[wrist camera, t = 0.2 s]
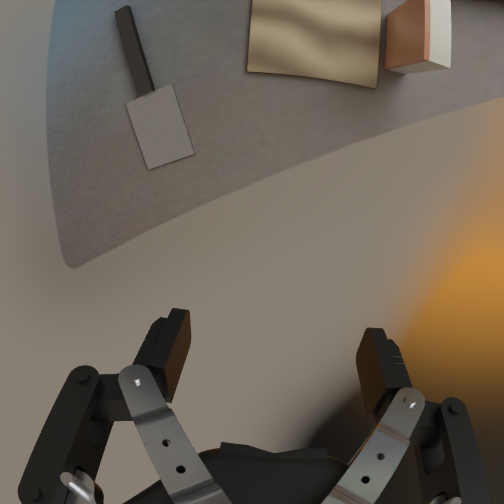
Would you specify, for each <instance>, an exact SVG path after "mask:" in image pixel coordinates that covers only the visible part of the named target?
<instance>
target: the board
mask: <svg viewBox="0 0 504 504" xmlns="http://www.w3.org/2000/svg"><path fill="white" fill-rule="evenodd" d="M380 24H381V0H253V3H252V14H251V27H250V39H249V52H248V65H247V72H262V73H275V74H286V75H296V76H304V77H312V78H319V79H326V80H332V81H339V82H344V83H350V84H355V85H360V86H365V87H370V88H374V89H376V86H377V74H378V61H379V46H380Z"/></svg>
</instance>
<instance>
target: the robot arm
mask: <svg viewBox="0 0 504 504" xmlns="http://www.w3.org/2000/svg"><path fill="white" fill-rule="evenodd" d="M190 343H191V325H190V312H189V310H183V309H177V308H172V310H171V312H170V314H169V316H168V318H162V317H160V318H159V319H158V320H156V321H155V322H154V323H153V324H152V325H151V327H150V330H149V332H148V334H147V335H146V337H145V340H144V342H143V344H142V346H141V348H140V350H139V352H138V354H137V356H136V358H135V360H134V362H133V364H132V365H130V366H127V367H125V368H124V369H123V370H122V371H121V372H120V373H118V374H101V375H99V373H98V371H97V370H96V369H95V368H93V367H91V366H87V365H85V366H79V367H76V368H75V369H73V370H72V371H71V372H70V374H69V376H68V378H67V380H66V382H65V383H64V385H63V388H62V390H61V391H60V394H59V395H58V397H57V399H56V401H55V403H54V405H53V407H52V410H51V412H50V414H49V416H48V418H47V420H46V422H45V424H44V426H43V429H42V431H41V433H40V436H39V438H38V440H37V442H36V444H35V447H34V449H33V451H32V454H31V456H30V459H29V461H28V463H27V466H26V468H25V471H24V473H23V476H22V479H21V481H20V484H19V487H18V496H19V499H20V501H21V503H22V504H104V494H103V491H102V489H101V488H100V487H99V485H98V484H97V483H96V482H95V478H96V475H97V472H98V469H99V465H100V462H101V459H102V456H103V453H104V450H105V447H106V444H107V441H108V438H109V434H110V432H111V429H112V426H113V423H114V421H134V423H135V426H136V428H137V431H138V433H139V435H140V437H141V440H142V442H143V444H144V446H145V448H146V450H147V453H148V455H149V457H150V459H151V461H152V463H153V465H154V467H155V469H156V471H157V473H158V475H159V477H160V480H158V481H157V482H155V483H154V484H153V485H151V486H150V487H148V488H147V489H145V490H143V491H142V492H140V493H139V494H137V495H136V496H134V497H133V498H131V499H130V500H128V501H126V502H125V503H123V504H387V503H386V502H385V501H384V500H383V499H382V498H381V497H380V496H379V495H380V494H381V492H382V490H383V489H384V487H385V486H386V484H387V483H388V481H389V479H390V478H391V476H392V474H393V473H394V471H395V469H396V467H397V466H398V464H399V462H400V460H401V459H402V457H403V455H404V453H405V451H406V449H407V447H408V445H409V444H411V445H414V450H415V456H416V463H417V469H418V477H419V485H420V494H421V503H422V504H490V498H489V492H488V487H487V482H486V478H485V474H484V469H483V465H482V461H481V457H480V453H479V449H478V445H477V442H476V438H475V435H474V431H473V428H472V425H471V421H470V418H469V415H468V412H467V409H466V406H465V405H464V403H463V402H462V401H461V400H459V399H457V398H453V397H449V398H446V399H445V400H444V401H443V402H442V403H441V404H439V403H434V402H430V401H426V400H425V399H424V397H423V395H422V394H421V393H420V392H419V391H418V390H416V389H413V388H412V384H411V382H410V378H409V375H408V372H407V370H406V367H405V364H404V361H403V358H402V357H401V353H400V350H399V347H398V346H397V345H396V344H395V343H394V341H393V340H391V339H390V340H389V339H387V337H386V334H385V332H384V330H383V329H382V328H367V329H366V330H365V332H364V335H363V338H362V340H361V343H360V346H359V348H358V350H357V354H356V366H357V370H358V375H359V380H360V385H361V391H362V396H363V401H364V406H365V411H366V418H367V420H375V421H376V425H375V427H374V428H373V430H372V431H371V433H370V434H369V436H368V437H367V439H366V440H365V442H364V443H363V444H362V446H361V447H360V449H359V450H358V452H357V453H356V454H355V456H354V457H353V458H352V460H351V461H350V462H349V463H348V465H347V464H345V463H344V462H342V461H341V460H338V459H336V458H333V457H330V456H327V449H298V450H292V451H286V452H281V453H271V452H268V451H264V450H261V449H258V448H255V447H252V446H249V445H242V444H233V443H225V442H221V446H220V448H217V449H210V450H206V451H203V452H200V453H198V454H197V453H196V451H195V449H194V448H193V446H192V444H191V442H190V441H189V439H188V437H187V436H186V434H185V432H184V430H183V429H182V427H181V425H180V423H179V422H178V420H177V418H176V416H175V414H174V412H173V411H172V409H169V407H168V406H167V404H166V402H168V403H172V400H173V397H174V394H175V391H176V387H177V384H178V381H179V378H180V375H181V372H182V369H183V366H184V363H185V360H186V357H187V354H188V351H189V348H190Z"/></svg>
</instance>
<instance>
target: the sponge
mask: <svg viewBox="0 0 504 504" xmlns="http://www.w3.org/2000/svg"><path fill="white" fill-rule="evenodd" d="M450 62H451V3H450V0H408V1H406V2H405V3H403V4H402V5H400V6H399V7H398V8H396V9H395V10H393V11H392V12H391V13H389V14H388V15H387V27H386V49H385V64H384V69H387V70H391V71H395V72H399V73H402V74H411V73H417V72H424V71H431V70H439V69H448V68H450Z"/></svg>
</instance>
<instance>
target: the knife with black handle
mask: <svg viewBox="0 0 504 504" xmlns="http://www.w3.org/2000/svg"><path fill="white" fill-rule="evenodd" d="M114 13H115V16H116V20H117V24H118V28H119V31H120V35H121V38H122V42H123V46H124V49H125V52H126V56H127V59H128V63H129V66H130V69H131V73H132V76H133V79H134V83H135V86H136V89H137V92H138V95H139V98H137V99H135V100H133V101H130V102H128V103H126V106H127V109H128V112H129V115H130V118H131V121H132V124H133V127H134V130H135V133H136V136H137V139H138V142H139V145H140V148H141V151H142V153H143V156H144V159H145V162H146V165H147V168H148V170H149V169H152V168H155V167H158V166H161V165H163V164H166V163H169V162H172V161H175V160H178V159H181V158H184V157H187V156H190V155H193V154H195V151H194V148H193V145H192V142H191V139H190V136H189V133H188V130H187V127H186V124H185V121H184V118H183V115H182V112H181V109H180V106H179V102H178V99H177V96H176V93H175V90H174V87H173V84H170V85H167V86H165V87H162V88H160V89H158V90H155V88H154V84H153V81H152V78H151V75H150V72H149V68H148V65H147V62H146V59H145V55H144V52H143V49H142V45H141V42H140V39H139V35H138V32H137V28H136V25H135V21H134V18H133V14H132V11H131V7H129V6H127V5H126V6H124V7H123V8H121V9H119V10H117V11H115V12H114Z"/></svg>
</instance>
